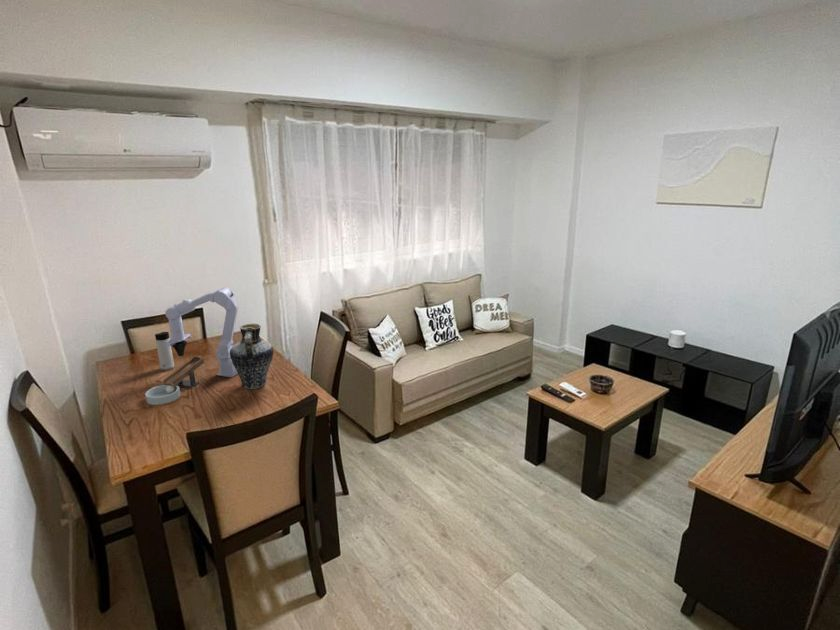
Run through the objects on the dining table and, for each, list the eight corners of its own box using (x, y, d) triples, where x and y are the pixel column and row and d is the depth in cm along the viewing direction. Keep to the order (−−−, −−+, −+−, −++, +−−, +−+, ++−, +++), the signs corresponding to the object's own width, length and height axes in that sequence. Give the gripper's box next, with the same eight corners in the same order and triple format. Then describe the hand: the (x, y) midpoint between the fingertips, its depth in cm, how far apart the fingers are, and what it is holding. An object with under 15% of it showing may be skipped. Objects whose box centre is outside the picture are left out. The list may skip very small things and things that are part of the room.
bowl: (186, 393, 208) (185, 386, 207) (163, 406, 196) (162, 399, 195) (163, 389, 212) (162, 382, 211) (139, 402, 200) (138, 395, 198)
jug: (233, 380, 222) (226, 322, 213) (274, 373, 229) (268, 317, 221) (234, 398, 204) (226, 336, 195) (279, 390, 211) (273, 330, 202)
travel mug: (165, 371, 231) (159, 335, 225) (158, 369, 234) (152, 332, 228) (177, 367, 236) (171, 331, 230) (170, 365, 239) (164, 329, 233)
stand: (199, 383, 218) (197, 370, 216) (191, 388, 213) (189, 374, 211) (182, 381, 220) (180, 368, 218) (174, 385, 216) (172, 372, 214)
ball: (171, 394, 206) (177, 390, 209) (169, 388, 204) (174, 384, 207) (165, 393, 207) (171, 389, 210) (163, 387, 205) (168, 383, 208)
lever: (205, 363, 223) (202, 356, 221) (175, 387, 206) (172, 380, 204) (184, 361, 226) (182, 353, 224) (153, 384, 209) (150, 376, 207)
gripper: (181, 324, 228) (185, 349, 232) (158, 333, 215) (162, 360, 219) (192, 326, 226) (196, 351, 230) (170, 335, 213) (174, 361, 217)
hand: (181, 355), depth 225 cm, fingers closed
